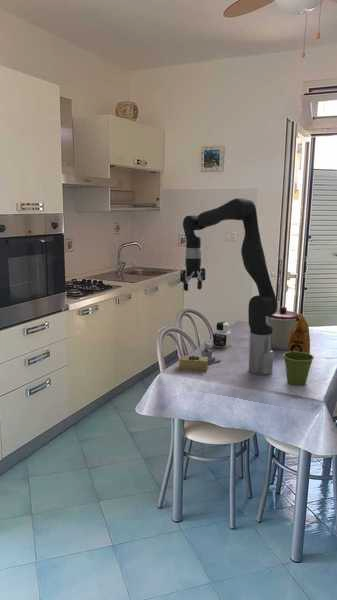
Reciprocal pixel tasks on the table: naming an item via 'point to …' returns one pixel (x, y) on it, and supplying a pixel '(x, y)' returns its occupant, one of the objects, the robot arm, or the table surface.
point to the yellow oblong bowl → (193, 363)
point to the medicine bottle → (222, 335)
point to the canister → (281, 327)
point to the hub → (208, 354)
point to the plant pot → (297, 367)
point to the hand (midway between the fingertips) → (192, 289)
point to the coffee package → (299, 337)
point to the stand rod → (193, 357)
